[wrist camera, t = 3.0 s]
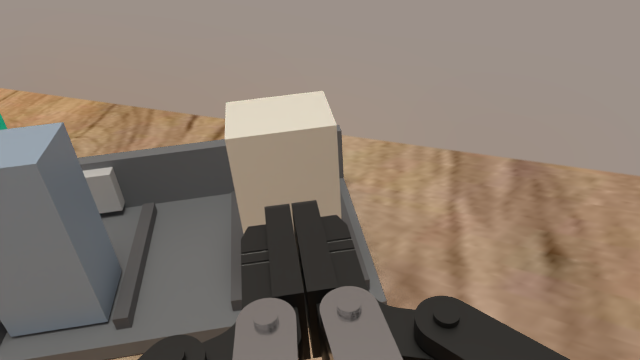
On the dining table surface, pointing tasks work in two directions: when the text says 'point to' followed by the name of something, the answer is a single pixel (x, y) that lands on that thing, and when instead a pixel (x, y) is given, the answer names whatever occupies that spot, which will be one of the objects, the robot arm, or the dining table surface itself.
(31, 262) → the slate blue key
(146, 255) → the tray
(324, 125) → the ivory key
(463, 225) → the dining table surface
